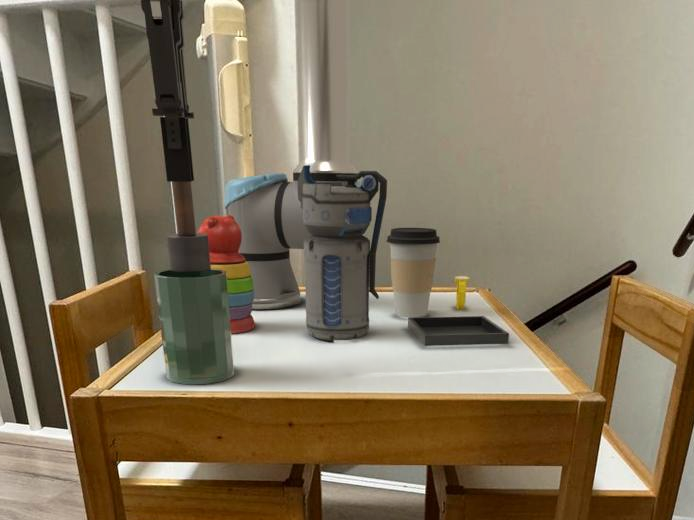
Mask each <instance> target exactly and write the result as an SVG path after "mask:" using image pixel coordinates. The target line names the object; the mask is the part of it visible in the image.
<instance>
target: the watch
mask: <svg viewBox="0 0 694 520" xmlns="http://www.w3.org/2000/svg"><path fill="white" fill-rule="evenodd" d="M454 282H455V283H456V293H455V294H456V295H455V298H456V299H455V308H456V310H457V311H463V310H465V306H466V295H467V294H466V293H467V283H470V277H469V276H464V275H459V276H454Z"/></svg>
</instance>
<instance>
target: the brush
mask: <svg viewBox="0 0 694 520" xmlns="http://www.w3.org/2000/svg"><path fill="white" fill-rule="evenodd" d="M180 83H181V82H180ZM181 94H182V87H181ZM182 106H183V97H182ZM183 108H184V107H183ZM163 117H165V116H163ZM179 117H184V113H183V116H179ZM171 188H172V189H171V190H172V199H173V207H174V208H173V209H174V215H175V226H176V233H169V234H166V235H165V243H166V252H167V261H168V268H169V269H170V270H171V271H174V272H201V271H207V270H210V269H211V264H210V253H209V242H208V235H207V234H202V233H197V231H196V221H195V220H196V218H195V211H194V209H195V208H194V200H193V189H192V182H171ZM169 269H168V270H169Z"/></svg>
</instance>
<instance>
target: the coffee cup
mask: <svg viewBox="0 0 694 520" xmlns="http://www.w3.org/2000/svg"><path fill="white" fill-rule="evenodd" d="M440 239H441V238H440V236H439V235H438V233H437V229H435V228H430V227H429V228H428V227H396V228H391V229H390V233H389V235H387V237H386V243H389V245H390V271H391V272H390V273H391V287H392V291H393V303H394V314H395V316H396V317H402V318H413V317H427V315H428V310H429V304H430V297H431V291H432V290H433V280H434V276H435V275H434V274H435V268H436V260H437V258H436V255H437V247H438V244H440V243H441V240H440Z"/></svg>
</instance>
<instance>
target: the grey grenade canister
mask: <svg viewBox="0 0 694 520" xmlns="http://www.w3.org/2000/svg"><path fill="white" fill-rule="evenodd" d="M336 177H337V178H339V179H346V181H347V185H346V186H345V187H342V183H317V182H315V181H313V180H312V178H311V176H310V165H305V166H303V168H302V170H301V173H300V176H299V178H298V200H299V201H301V208H302V209H303V224H304V225H305V227H306V228H307V230H308V232H309V233H310V234H311V236H309V237H307V238H306V239H305V240H304V249H303V254H304V257H303V258H304V288H305V290H304V291H305V316H306V317H305V326H306V327H305V328H306V331H307V332H308V333H309V335H310V336H311V337H314V338H316V339H319V340H321V341H329V342H334V341H342V340H353V339H358V338H363V337H364V336H366V335H367V333H368V331H369V328H370V315H369V314H370V313H369V311H370V309H369V308H370V294H371V295H372V296H373V297H374V298H375V299H376V300H379V298H380V296H379V294H378V292H377V290H376V265H377V264H376V263H377V260H376V259H377V249H378V245H379V239H380V234H381V229H382V223H383V220H384V219H383V218H384V213H385V207H386V204H387V203H386V201H387V196H388V195H387V194H388V193H387V192H388V179H387V178H385V177H384V176H383V175H382V174H381V173H380V172H378V171H377V170H361V171H359V172H357V174H356V175H336ZM361 178H362V180H361V183H362V185H361V187H357V186H356V185H355V181H356V180H357V181H358V180H360V179H361ZM377 193H379V194H378V195H379V197H378V202H377V209H376V214H375V220H374V226H373V231H372V238H371V240H370V239H369V238H368V237H367V236H365V235H364V234H365V233H366V231H367V230H368V229H369V227H370V225H371V222H372V221H373V220H372V219H373V218H372V217H373V214H372V211H373V208H372V206H371V202H372V200H373V198H374V197H375V196H376V195H377Z"/></svg>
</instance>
